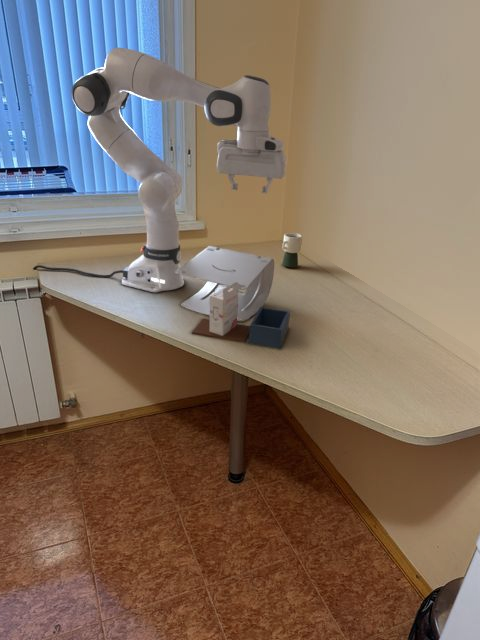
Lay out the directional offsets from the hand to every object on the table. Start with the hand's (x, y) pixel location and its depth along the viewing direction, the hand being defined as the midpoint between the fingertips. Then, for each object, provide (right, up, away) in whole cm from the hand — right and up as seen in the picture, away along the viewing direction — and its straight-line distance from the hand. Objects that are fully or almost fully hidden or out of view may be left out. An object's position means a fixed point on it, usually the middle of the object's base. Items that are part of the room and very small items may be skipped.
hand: (249, 191), depth 145 cm
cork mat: (-8, -42, +1) cm, 42 cm away
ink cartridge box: (-8, -41, +1) cm, 42 cm away
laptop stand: (-7, -32, +19) cm, 38 cm away
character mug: (+19, -13, +54) cm, 58 cm away
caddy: (+6, -43, -1) cm, 44 cm away
